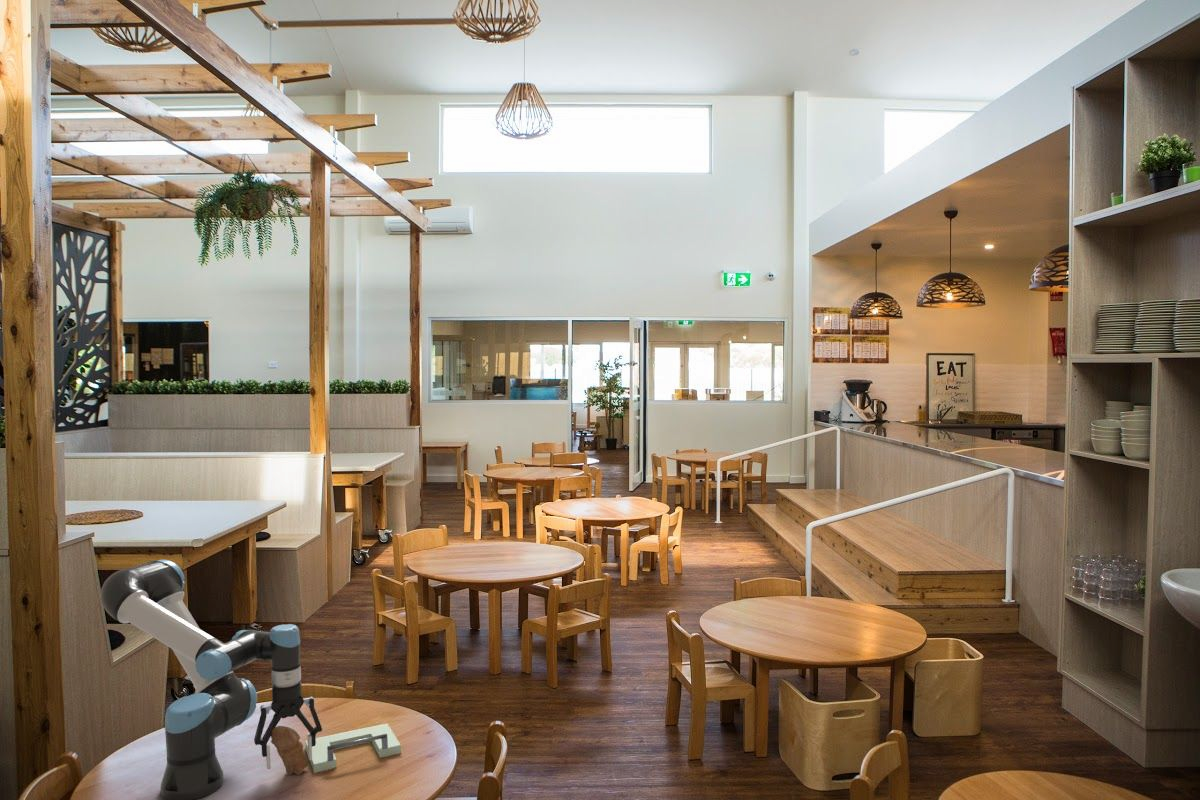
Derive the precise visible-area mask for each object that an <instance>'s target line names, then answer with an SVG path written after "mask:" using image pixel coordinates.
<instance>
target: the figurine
mask: <svg viewBox="0 0 1200 800" xmlns="http://www.w3.org/2000/svg"><path fill="white" fill-rule="evenodd" d="M270 739H271V740H270V741H271V742H270V743H271V744H272V745H274V747H275V748H276V751H277V754H278V756H279V757H280V759H281V760H282V763H283V765H284V767H285V773H286V774H287V775H292V774H294V773H295V775H300V774H302V773H303V771H304V770H305V769H306V768H307V767H308V766H309V765H310V764H311V763H310V760H308V757H307V756H306V754H305V751H304V745H303V742H302V741H300V739H301V736H300V734H299V733H298V732H297V731H296V730H295V729H293V728H291V727H289V726H283V725H277V726H276V727H275V728H274V729H273V731H272V735H271V737H270Z"/></svg>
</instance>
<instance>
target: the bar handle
mask: <svg viewBox="0 0 1200 800" xmlns="http://www.w3.org/2000/svg"><path fill="white" fill-rule="evenodd" d="M377 739H382V749H386V748H388V738H387V734H383V735H378V736H374V737H369V738H364V739H360V740H355V741H350V742H346V743H341V744H336V745H332V746H327V759H328V761H332V760H334V759H333V753H334V750H333V749H335V750H337V749H336V748H339V749H341V748H340V747H344V748H346V747H345V746H349V747H351V746H350V745H353V746H355V745H354V744H358V745H360V744H359V743H362V744H364V743H363V742H367V743H369V742H368V741H373V740H377Z"/></svg>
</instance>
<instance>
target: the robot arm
mask: <svg viewBox="0 0 1200 800" xmlns="http://www.w3.org/2000/svg"><path fill="white" fill-rule="evenodd" d="M184 580H185V575H184V572H183V570H182V569H181V567H180V566H179V565H178V564H176V563H175V562H173V561H171V560H169V559H168V560H167V559H158V560H151V561H150V560H149V561H147V562H145V563H141V564H139V565H135V566H131V567H129V568H128V567H127V568H123V569H120V570H117V571H115V572H114V573H112V574H111V575H110V576H108V578H106V580H105V581H104V582H103V584H102V587H101V590H100V602H101V605H102V608H104V610H105V612H106V613H107V614H108V615H109V616H110V617H112V619H114V620H115V621H118V623H121V624H131V625H132V626H134V627H136V628H138V629H139V630H141V631H143V632H144V633H146V634H147V635H149V636H150V637H152V638H154V639H156V640H157V641H159V642H160V643H162V644H164V645H165V646H167V647H169V648H170V649H171V650H172V652H173V653H174V655H175V656H176V658H177V660H178V661H179V663H180V665H181V667H182V668H183V670H184V671H185V673H186V674H187V676H188V678H189V680H190V681H191V683H192V684H193V686H194V687H195V688H194V689H195V691H194V693H192V694H190V695H185V696H182V697H180V698H178V699H176V700H175V701H173V702H172V703H171V704H170V705H169V706H168V707H167V709H166V712H165V717H164V718H165V720H164V730H165V731H164V732H165V746H166V748H165V749H166V751H165V752H166V765H165V769H164V773H163V776H162V779H161V782H160V797H161V798H162V799H164V800H197V799H200V798H203V797H207V796H209V795H211V794H213V793H215V792H216V791H217V790H219V789H220V788H221V787H222V786H223V784H224V771H223V768H222V767H221V765H220V764H221V763H220V762H219V759H218V757H217V754H216V741H215V740H216V738H218V737H220V736H221V735H224V734H225V733H227V732H228V731H230V730H231V729H234V728H235V727H237V726H240V725H242V724H243V723H244V722H246V721H247V720H249V718H251V717H252V716H253V714H255V711H256V709H257V703H258V695H257V690H256V688H255V686H254V685H253V683H252V682H251V681H250V680H249V679H245V678H242V677H241V678H240V677H239V678H238V677H237V675H236V674H235V672H234V671H236V670H237V669H239V668H241V667H243V666H245V665H248V664H250V663H252V662H254V661H256V660H257V661H267V662H269V661H270V664H271V665H270V667H271V684H272V686H271V692H272V693H271V694H272V702H271V703H270V704H269V705H267V704H266V705H264V704H262V705H260V716H259V720H258V723H257V727H256V731H255V735H254V738H253V742H254V744H255V745H256V746H258V745H260V747H261V756H262V757H263V758H265V757H266V769H267V770H271V768H272V767H271V745H270V739H271V735H272V731H273V729H274V728H275V727H277V726H278V724H279V722H280V721H281V719H287V718H288V717H289V718H291V717H295V716H296V717H297V719H299V721H300V722H301V723H302V724H303V726H304V727H305V729H307V731H308V733H307V734H306V737H307V738H306V740H307V741H308V754H307V759H309V760H308V761H310V760H312V746H315V745H316V738H317V737H316V736H317V734H319V733H321V732H322V731H323V727H322V724H321V722H320V719H319V717H318V714H317V712H316V709H315V699H314V697H313V696H312V695H310V696H308V697H305V698H304V697H303V693H302V692H303V691H302V681H301V680H302V669H301V638H300V629H299V627H298V626H297V625H296V624H292V623H288V624H284V623H282V624H279V625H276V626H273V627H272V628H271V629H270V631H262V630H255V629H242V630H239V631H237V632H235V635H233V636H232V638H231V640H229V641H227V642H223V641H221V640H219V639H217V638H216V637H214V636H213V635H211V634H209V633H207V632H206V631H204V630H203V629H201V628H200V626H199V625H198V623H197V622H196V620H195V619H194V617H193V616H192V613H191V611H189V609H188V608H187V605H186V604H185V603H184V598H185V594H186V593H185V592H184V590H183V589H184V587H185V584H186V582H185V581H184ZM304 704H305V706H306V707H308V709H309V711H310V714H311V716H312V719H313V722H314V724H315V726H314V727H313V725H312V724H311V722H310V721H309V720H308V718H307V717H306V716H305V715H304V713H303V712H302V710H301V708H302V707H303V705H304ZM271 710H272V711H273V712H274V714H273V715H272V716H273V717H272V718H271V720H270V723H269V724H268V726H267V728H266V730H265V732H264V733H263V731H264V728H265V725H266V724H265V723H266V721H267V715H268V714H270V711H271ZM262 734H263V735H262Z"/></svg>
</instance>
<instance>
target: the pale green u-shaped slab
mask: <svg viewBox="0 0 1200 800" xmlns="http://www.w3.org/2000/svg"><path fill="white" fill-rule="evenodd" d="M383 734H387V738H388V748H386V749H382V739H377V740H373V741H368V742H363V743H359V744H354V745H350V746H345V747H340V748H336V749H335V750H339V749H343V748H347V747H353V746H357V745H361V744H365V743H372V746H373V747H374V749H375V750H376V753H377V755H378V756H379V758H380V759H382V758H386V757H389V756H394V755H399V754H402V745H401V743H400V741H399V740H398V738H397V737H396V734H395V733H394V731H393V730H392V729H391V727H390V725H389V723H388V722H386V723H382V724H378V725H373V726H367V727H362V728H358V729H354V730H349V731H344V732H339V733H334V734H330V735H325V736H320V737H316V745H315V746H312V760H309V762H310V763H309V764H310V765H311V767H312V770H313V773H314V774H316V773H318V772H319V773H320V772H324V770H325V771H329V770H332V768H333V769H336V768H335V767H337V766H338V765H337V764H338V763H337V758H336V755H335V753H334V752H333V759H334V760H332V761H328V759H327V746H332V745H336V744H341V743H346V742H350V741H355V740H360V739H364V738H369V737H374V736H378V735H383ZM304 744H305V745H304V746H305V747H304V748H305V750H306V753H307V755H308V741H307V739H305V741H304ZM328 769H329V770H328Z"/></svg>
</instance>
